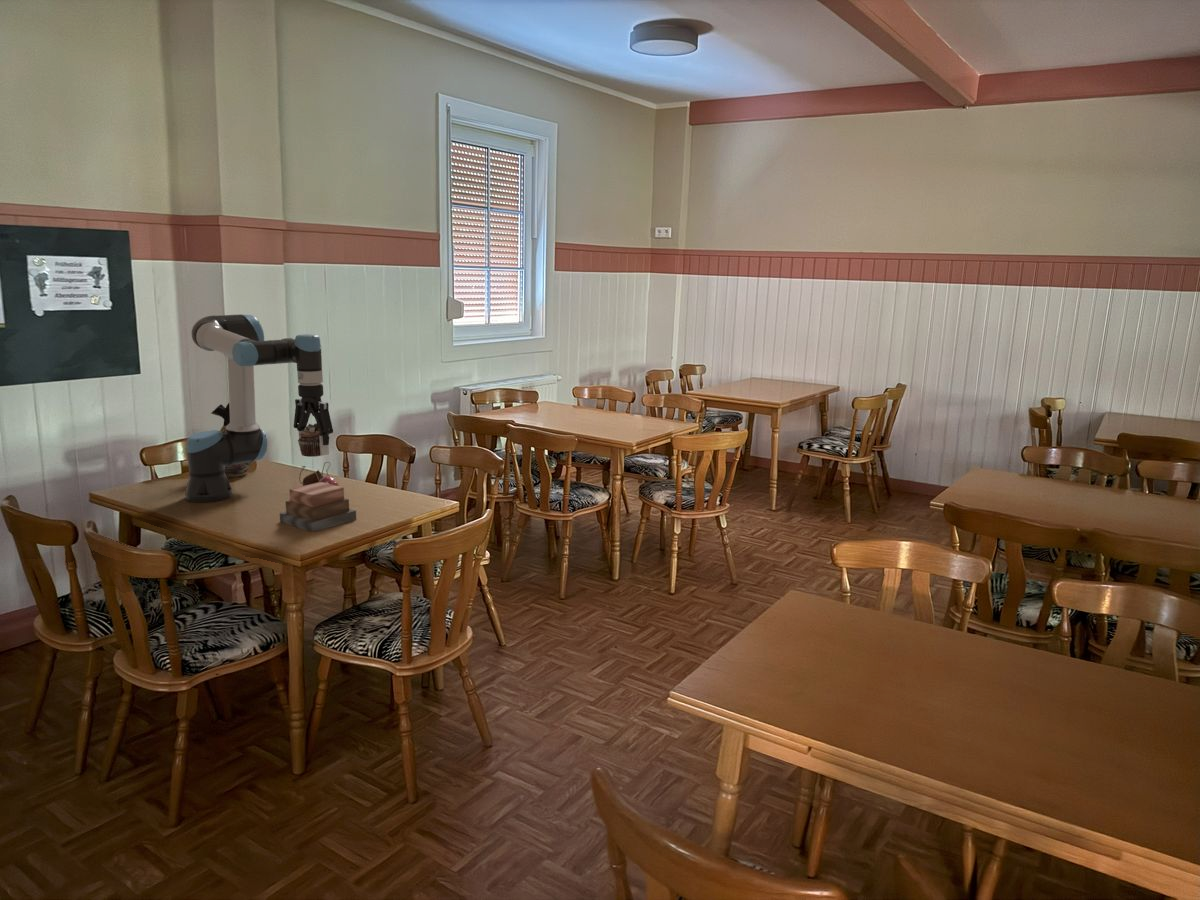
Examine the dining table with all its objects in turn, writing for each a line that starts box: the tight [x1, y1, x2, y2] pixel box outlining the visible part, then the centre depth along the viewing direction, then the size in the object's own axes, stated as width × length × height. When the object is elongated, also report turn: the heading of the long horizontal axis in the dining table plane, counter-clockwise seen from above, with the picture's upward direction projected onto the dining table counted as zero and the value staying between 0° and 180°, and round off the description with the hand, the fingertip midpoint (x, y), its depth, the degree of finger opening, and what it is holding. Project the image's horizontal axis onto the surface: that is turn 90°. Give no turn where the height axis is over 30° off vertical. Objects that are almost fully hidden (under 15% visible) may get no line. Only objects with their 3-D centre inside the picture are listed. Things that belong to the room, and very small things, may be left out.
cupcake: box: [297, 422, 322, 458], centre depth 265 cm, size 10×10×10 cm
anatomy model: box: [298, 461, 340, 487], centre depth 297 cm, size 11×15×17 cm
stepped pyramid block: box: [279, 482, 357, 533], centre depth 270 cm, size 17×17×11 cm
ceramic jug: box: [210, 402, 253, 478], centre depth 324 cm, size 17×15×30 cm
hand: (314, 452), depth 266 cm, fingers closed on cupcake, 10 cm apart
